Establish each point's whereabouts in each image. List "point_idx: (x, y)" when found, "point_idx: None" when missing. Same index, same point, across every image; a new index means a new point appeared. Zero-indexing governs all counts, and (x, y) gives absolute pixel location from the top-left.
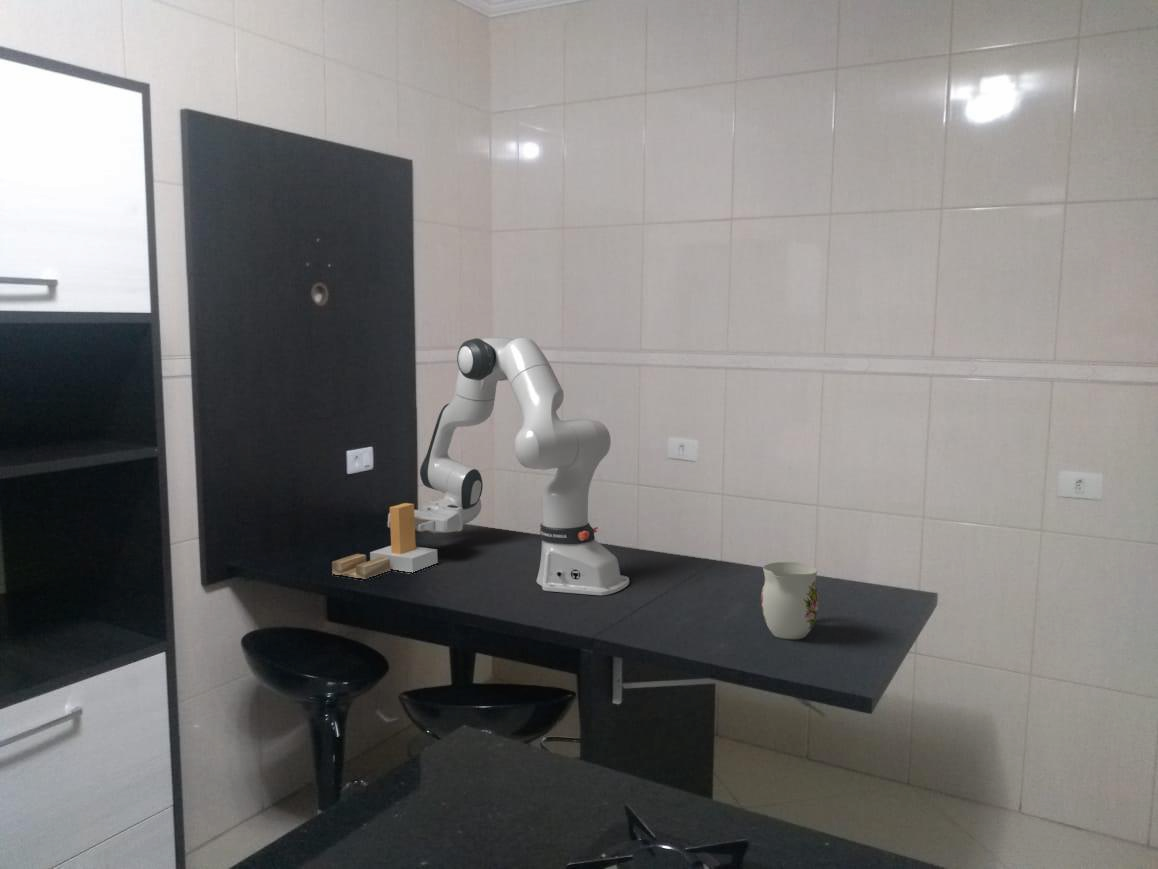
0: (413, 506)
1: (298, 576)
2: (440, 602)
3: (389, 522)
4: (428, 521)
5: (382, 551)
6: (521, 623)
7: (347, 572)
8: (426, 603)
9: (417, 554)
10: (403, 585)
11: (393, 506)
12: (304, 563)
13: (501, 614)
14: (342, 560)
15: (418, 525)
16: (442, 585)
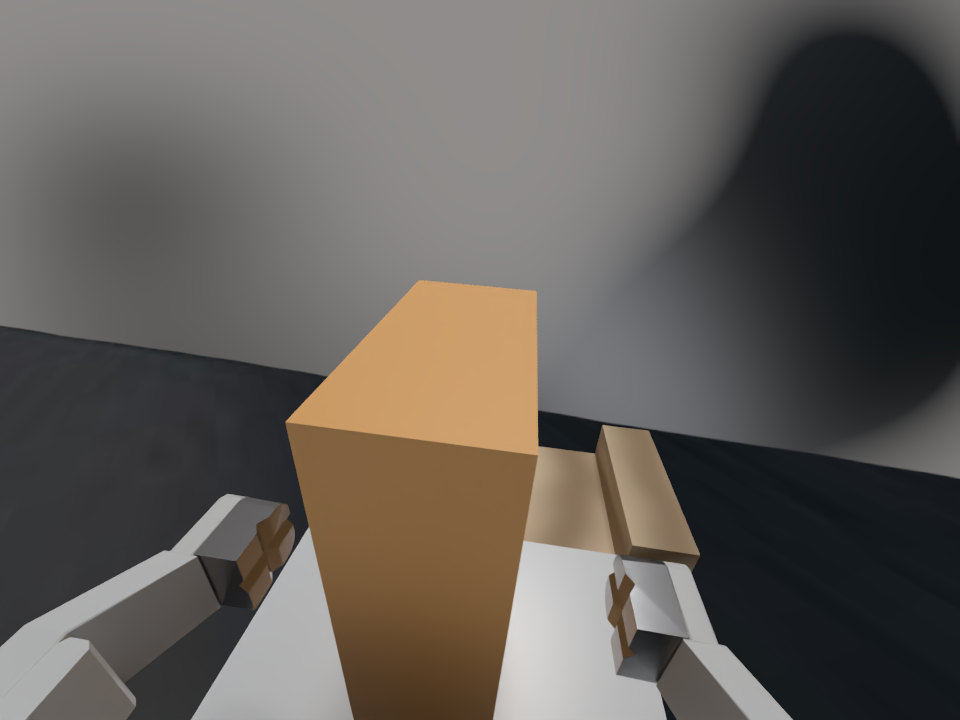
0: (303, 447)
1: (716, 442)
2: (190, 371)
3: (652, 560)
4: (77, 655)
5: (579, 597)
6: (6, 327)
7: (580, 462)
8: (229, 363)
9: (304, 594)
10: None
11: (524, 306)
12: (945, 578)
13: (33, 347)
14: (632, 449)
15: (250, 498)
16: (171, 467)
